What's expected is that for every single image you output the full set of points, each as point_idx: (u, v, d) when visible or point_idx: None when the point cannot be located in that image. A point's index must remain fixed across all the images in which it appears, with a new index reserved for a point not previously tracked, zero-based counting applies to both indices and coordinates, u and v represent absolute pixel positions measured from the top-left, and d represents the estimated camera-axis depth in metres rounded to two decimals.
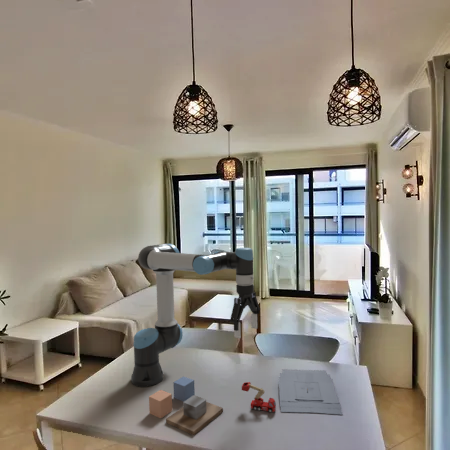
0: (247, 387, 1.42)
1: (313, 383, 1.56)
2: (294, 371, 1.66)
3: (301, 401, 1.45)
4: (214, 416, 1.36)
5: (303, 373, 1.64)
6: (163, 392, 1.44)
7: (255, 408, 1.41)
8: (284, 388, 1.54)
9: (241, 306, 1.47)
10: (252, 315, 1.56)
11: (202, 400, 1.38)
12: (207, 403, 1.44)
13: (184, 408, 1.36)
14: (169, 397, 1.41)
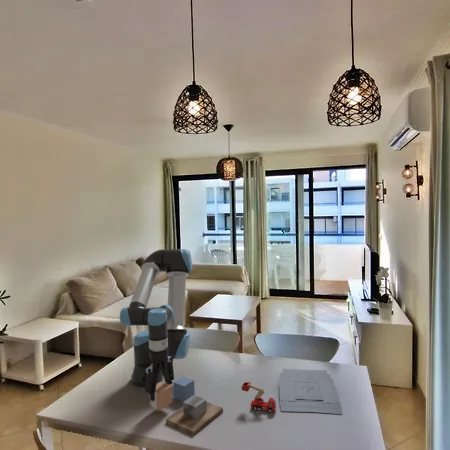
0: (247, 387, 1.42)
1: (313, 383, 1.56)
2: (294, 371, 1.66)
3: (301, 400, 1.45)
4: (214, 416, 1.36)
5: (303, 373, 1.64)
6: (163, 384, 1.44)
7: (255, 408, 1.41)
8: (285, 387, 1.54)
9: (155, 374, 1.39)
10: None
11: (202, 400, 1.38)
12: (207, 403, 1.44)
13: (184, 408, 1.36)
14: (169, 388, 1.42)
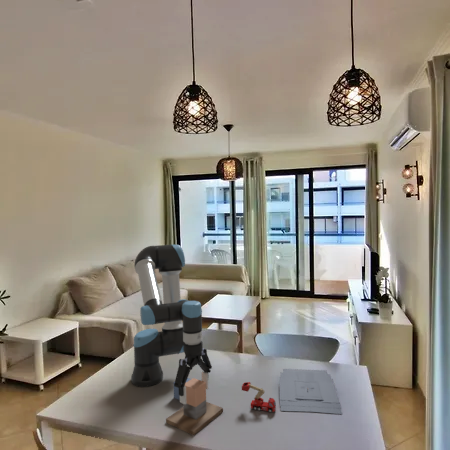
0: (247, 387, 1.42)
1: (313, 383, 1.56)
2: (295, 371, 1.67)
3: (301, 400, 1.45)
4: (214, 416, 1.36)
5: (304, 373, 1.64)
6: (196, 380, 1.39)
7: (255, 408, 1.41)
8: (285, 387, 1.54)
9: (187, 367, 1.33)
10: (202, 374, 1.42)
11: None
12: (207, 403, 1.44)
13: (184, 408, 1.36)
14: (203, 385, 1.37)
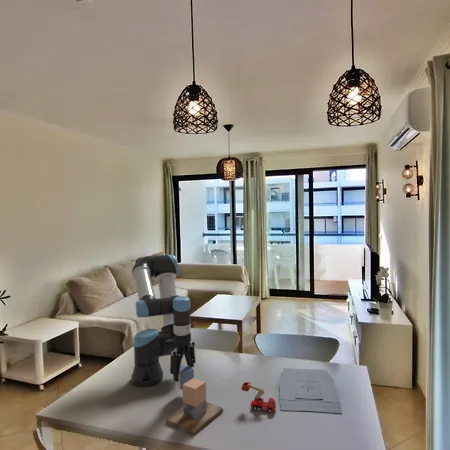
0: (247, 387, 1.42)
1: (313, 382, 1.57)
2: (295, 370, 1.67)
3: (301, 399, 1.46)
4: (214, 416, 1.36)
5: (304, 372, 1.65)
6: (196, 380, 1.39)
7: (255, 408, 1.41)
8: (285, 387, 1.55)
9: (179, 357, 1.50)
10: None
11: None
12: (207, 403, 1.44)
13: (184, 408, 1.36)
14: (203, 385, 1.37)
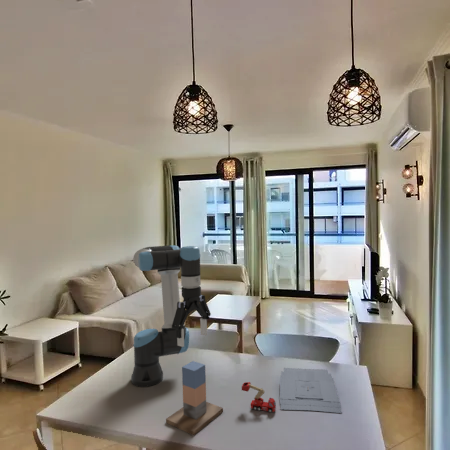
0: (247, 387, 1.42)
1: (314, 382, 1.57)
2: (295, 370, 1.68)
3: (301, 399, 1.46)
4: (214, 416, 1.36)
5: (304, 372, 1.65)
6: None
7: (255, 408, 1.41)
8: (285, 386, 1.55)
9: (185, 311, 1.32)
10: (201, 320, 1.42)
11: None
12: (207, 403, 1.44)
13: (184, 408, 1.36)
14: (203, 385, 1.37)
